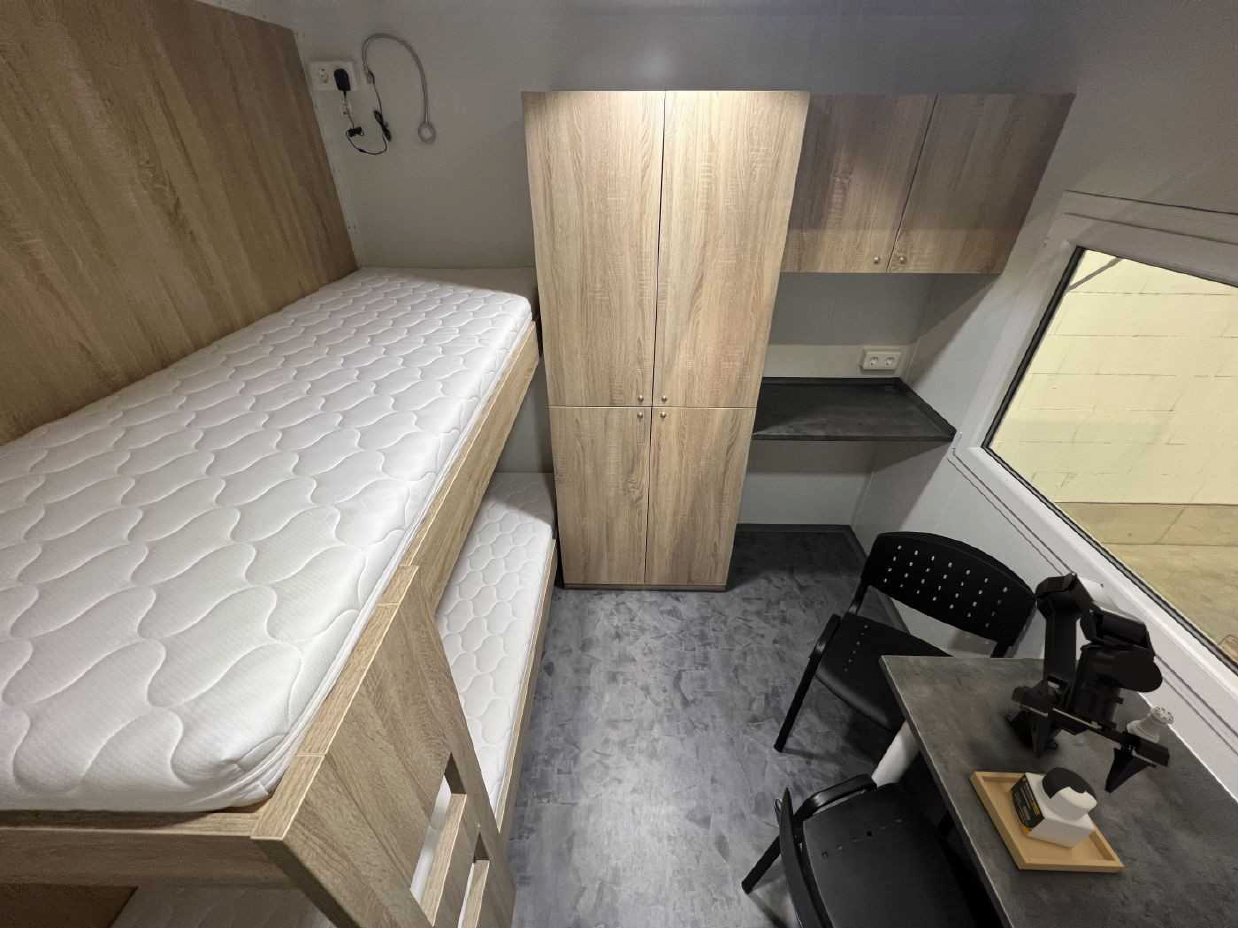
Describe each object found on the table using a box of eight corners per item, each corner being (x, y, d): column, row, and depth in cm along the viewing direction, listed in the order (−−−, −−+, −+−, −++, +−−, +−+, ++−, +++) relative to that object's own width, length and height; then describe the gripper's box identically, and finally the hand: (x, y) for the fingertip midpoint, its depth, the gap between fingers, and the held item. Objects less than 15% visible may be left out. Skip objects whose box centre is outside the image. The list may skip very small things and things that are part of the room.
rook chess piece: (1142, 725, 98) (1167, 702, 94) (1161, 748, 95) (1188, 725, 90) (1119, 723, 99) (1143, 700, 94) (1137, 745, 95) (1162, 722, 91)
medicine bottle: (1006, 790, 87) (1039, 756, 80) (1052, 802, 85) (1088, 767, 79) (1024, 836, 81) (1060, 802, 75) (1073, 849, 80) (1114, 816, 73)
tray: (1019, 869, 78) (1026, 862, 76) (969, 777, 89) (974, 771, 88) (1116, 872, 78) (1124, 866, 76) (1053, 780, 89) (1060, 774, 88)
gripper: (1142, 705, 84) (1118, 794, 82) (1013, 653, 92) (988, 732, 90) (1185, 716, 74) (1159, 817, 72) (1036, 656, 82) (1009, 746, 80)
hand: (1071, 774), depth 79 cm, fingers open, 9 cm apart
